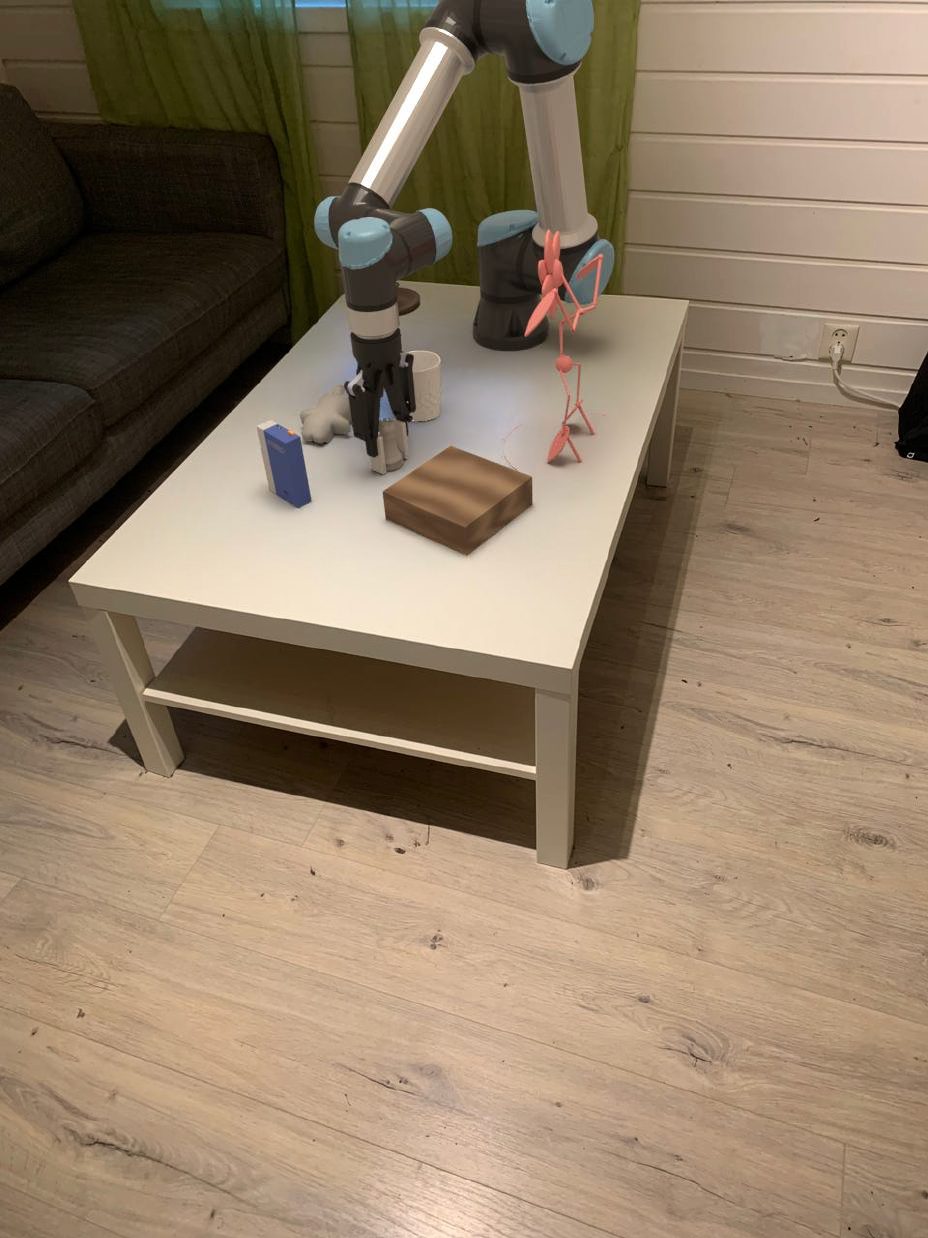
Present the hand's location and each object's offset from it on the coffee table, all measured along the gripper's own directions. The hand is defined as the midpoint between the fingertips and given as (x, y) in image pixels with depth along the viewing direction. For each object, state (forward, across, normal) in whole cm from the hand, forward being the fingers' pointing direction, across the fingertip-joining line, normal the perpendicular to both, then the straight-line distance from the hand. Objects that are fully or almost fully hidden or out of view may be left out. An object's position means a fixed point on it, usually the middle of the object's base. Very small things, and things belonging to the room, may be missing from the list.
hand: (390, 463), depth 165 cm
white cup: (+1, -16, -7) cm, 17 cm away
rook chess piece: (+1, 0, 0) cm, 1 cm away
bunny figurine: (+1, -4, -17) cm, 18 cm away
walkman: (+1, +16, -7) cm, 17 cm away
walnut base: (0, +4, +18) cm, 18 cm away
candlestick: (+1, -25, -21) cm, 33 cm away
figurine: (+1, -20, +17) cm, 27 cm away
